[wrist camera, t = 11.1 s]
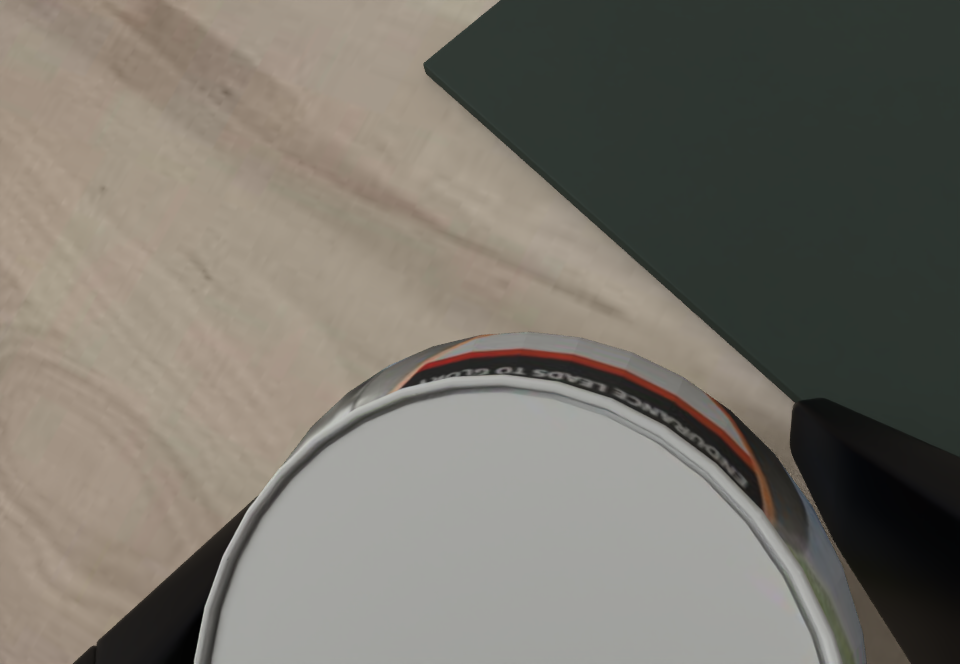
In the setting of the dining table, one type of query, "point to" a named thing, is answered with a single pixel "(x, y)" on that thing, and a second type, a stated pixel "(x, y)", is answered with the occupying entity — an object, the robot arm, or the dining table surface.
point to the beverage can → (530, 525)
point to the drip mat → (757, 172)
